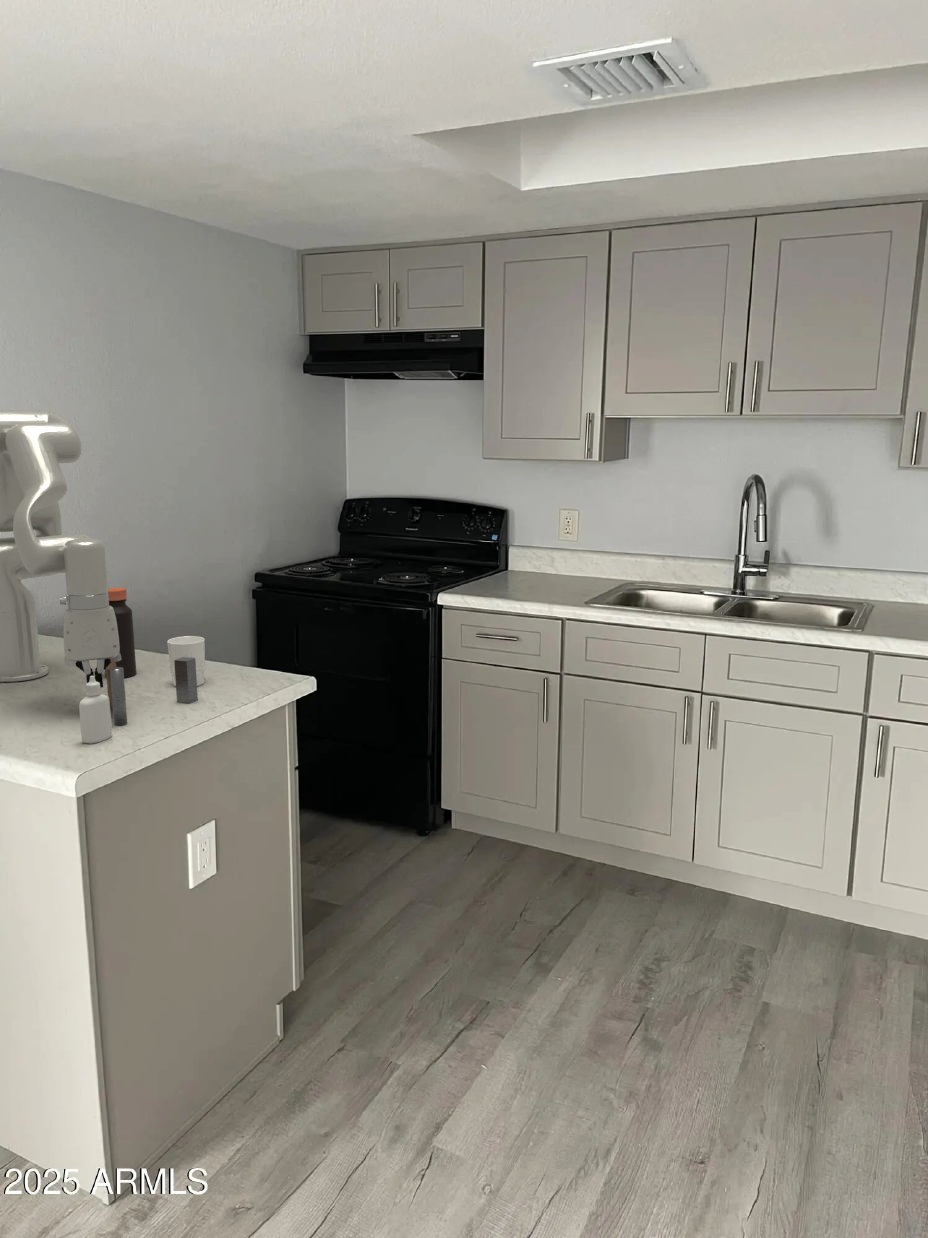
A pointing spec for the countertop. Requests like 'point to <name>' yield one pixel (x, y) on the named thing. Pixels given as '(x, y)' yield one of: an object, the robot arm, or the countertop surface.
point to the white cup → (188, 654)
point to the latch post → (186, 680)
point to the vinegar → (123, 630)
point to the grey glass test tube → (118, 696)
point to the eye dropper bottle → (95, 714)
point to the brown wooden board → (109, 681)
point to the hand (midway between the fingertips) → (95, 691)
